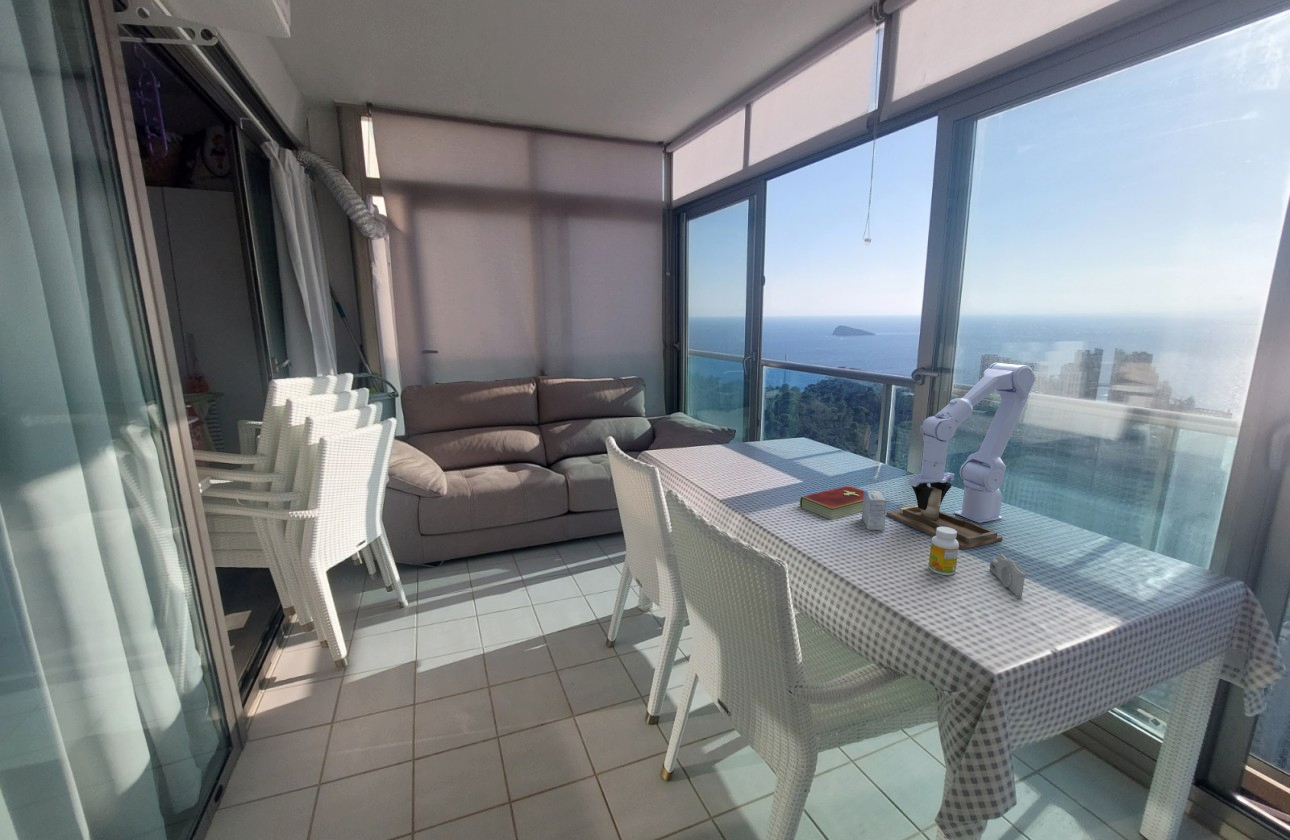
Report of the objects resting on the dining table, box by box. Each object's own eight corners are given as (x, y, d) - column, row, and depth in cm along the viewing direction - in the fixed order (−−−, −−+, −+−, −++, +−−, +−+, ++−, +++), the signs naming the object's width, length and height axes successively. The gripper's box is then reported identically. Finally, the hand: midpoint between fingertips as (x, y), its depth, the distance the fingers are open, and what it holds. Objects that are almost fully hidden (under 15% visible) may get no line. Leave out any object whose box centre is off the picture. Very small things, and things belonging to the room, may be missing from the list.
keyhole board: (922, 508, 155) (923, 500, 154) (1001, 540, 133) (1003, 531, 132) (886, 515, 150) (887, 507, 149) (962, 549, 128) (963, 539, 127)
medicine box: (884, 531, 139) (887, 500, 137) (867, 529, 140) (869, 499, 138) (877, 520, 146) (880, 490, 145) (861, 518, 147) (863, 489, 146)
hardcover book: (799, 508, 157) (800, 495, 156) (846, 496, 167) (847, 484, 166) (831, 521, 146) (832, 507, 146) (879, 508, 156) (880, 495, 156)
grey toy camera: (987, 569, 118) (991, 545, 117) (996, 569, 118) (1000, 545, 116) (1015, 596, 106) (1019, 570, 105) (1024, 597, 106) (1028, 571, 105)
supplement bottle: (923, 564, 120) (928, 525, 118) (947, 564, 120) (952, 525, 118) (935, 575, 115) (940, 534, 113) (960, 576, 115) (965, 535, 113)
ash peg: (928, 513, 147) (931, 486, 146) (942, 518, 143) (945, 491, 142) (916, 515, 146) (919, 488, 144) (930, 521, 142) (933, 493, 140)
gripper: (926, 467, 136) (921, 516, 138) (966, 461, 141) (960, 509, 143) (904, 460, 142) (900, 507, 145) (943, 455, 147) (938, 500, 150)
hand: (928, 507), depth 144 cm, fingers closed on ash peg, 4 cm apart
